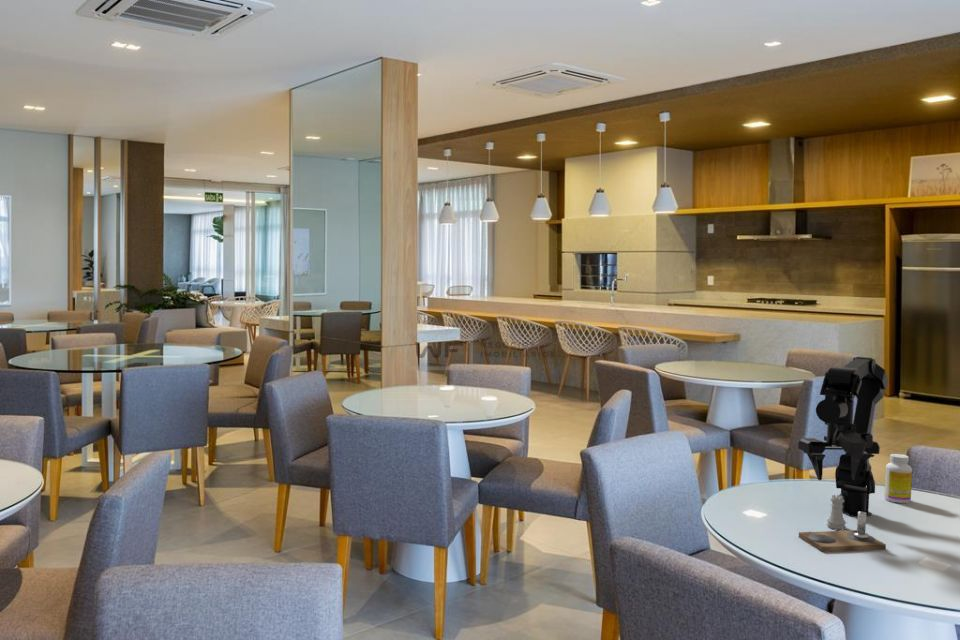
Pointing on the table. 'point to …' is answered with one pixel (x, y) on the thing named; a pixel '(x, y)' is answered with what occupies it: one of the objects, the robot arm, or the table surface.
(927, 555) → the table surface
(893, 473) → the supplement bottle
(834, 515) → the rook chess piece
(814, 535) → the board
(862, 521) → the point post
